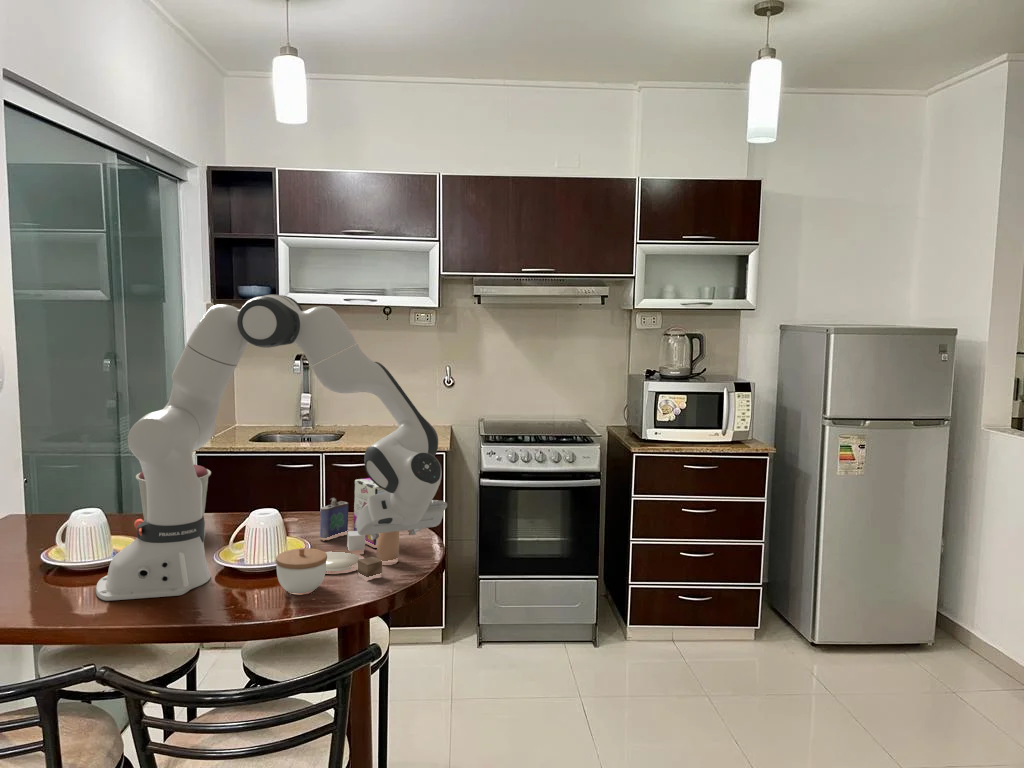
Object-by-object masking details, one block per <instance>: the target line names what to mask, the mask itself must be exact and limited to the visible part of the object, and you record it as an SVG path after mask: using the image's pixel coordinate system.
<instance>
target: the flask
mask: <svg viewBox="0 0 1024 768" xmlns="http://www.w3.org/2000/svg"><path fill="white" fill-rule="evenodd" d="M329 500H330V501H331V502H330V504H328V505H326V506H322V507H320V519H319V520H320V521H319V522H320V524H319V526H320V528H319V538H320V537H321V538H327V537H330V536H332V535H335V534H338V533H341V532H345V531H347V530H348V531H349V528H348V527H349V505H350V504H349V502H347V501H342V500H340V501H337V498H335V497H331V498H330V499H329Z"/></svg>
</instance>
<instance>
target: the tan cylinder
mask: <svg viewBox="0 0 1024 768" xmlns="http://www.w3.org/2000/svg"><path fill="white" fill-rule="evenodd" d="M378 534H379V537H378V539H377V549H376V558H377V559H379V560H382V561H388V560H393V559H396V558H398V557H399V558H400V531H394V532H386V533H378Z"/></svg>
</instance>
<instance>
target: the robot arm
mask: <svg viewBox="0 0 1024 768" xmlns="http://www.w3.org/2000/svg"><path fill="white" fill-rule="evenodd" d="M292 344H293V345H296V346H297V347H299V349H300V350H301V351H302V352H303V354H304V356H305V358H306V359H307V361H308V363H309V365H310V367H311V369H312V370H313V372H314V375H315V376H316V378H317V379H318V381H319V382H320V384H322V386H323V387H324V388H326V389H327V390H330V391H332V392H334V393H338V394H356V393H368V394H372V395H374V396H375V397H377V398H378V399H380V401H381V402H382V403H383V405H384V406H385V408H386V409H387V410H388V412H389V414H391V415H392V417H393V419H394V420H395V421H396V424H397V426H398V427H397V428H396V429H395V430H394V431H392V432H391V433H389V434H387V435H386V436H384V437H382V438H380V439H379V440H377V441H376V442H374V443H372V444H371V445H370V446H368V447H367V448H366V449H365V452H364V457H363V458H364V459H363V461H364V469H365V472H366V473H365V474H367V476H368V478H370V479H371V480H372V481H373V482H374V483H375V484H376V485H377V486H379V487H380V488H382V489H384V490H386V491H385V492H383V493H379V494H376V495H372V496H370V497H368V500H367V501H368V504H367V505H365V506H364V507H363V508H362V509H361V511H360V513H359V514H358V516H357V519H356V528H357V532H358V534H360V535H369V534H370V536H371V540H374V539H378V537H379V534H378V533H386V532H394V531H399V532H401V531H402V532H403V531H407V532H408V535H409V536H415V535H416V534H417V532H419V531H421V530H423V529H427V528H434V527H435V528H436V527H437V526H439V525H440V524H441V523H442V519H443V518H444V517H443V516H444V511H446V509H447V508H448V502H447V501H444V500H437V499H434V497H435V496H436V494H437V491H438V490H439V486H440V485H441V482H442V481H441V480H442V472H443V471H442V465H441V463H440V462H439V460H438V459H437V457H435V456H436V455H437V453H438V448H439V437H438V433H437V431H436V429H435V428H434V426H433V425H432V424H431V423H430V422H429V421H427V419H426V418H425V417H424V416H423V415H422V414H421V413H420V411H419V410H418V409H417V407H416V406H415V405H414V403H413V402H412V401H411V399H410V398H409V396H408V394H406V392H405V391H404V389H402V387H401V385H400V384H399V383H398V382H397V380H396V379H395V377H394V376H393V375H392V374H391V373H390V371H389V370H388V368H386V367H385V366H384V364H382V363H381V362H378V361H374V360H372V359H370V358H369V356H367V354H365V353H364V351H363V350H362V349H361V347H360V346H359V344H358V342H357V340H356V339H355V337H354V335H353V334H352V332H351V331H350V329H349V328H348V326H347V325H346V323H345V321H344V320H343V319H342V317H341V316H340V315H339V314H338V312H336V310H335V309H333V308H331V307H330V306H326V305H325V306H324V305H319V306H313V307H310V308H309V309H307V310H306V309H305V310H303V308H302V306H301V305H300V304H299V303H298V302H297V301H296V300H295V298H294V299H293V298H292V297H290V296H287V295H283V294H274V293H273V294H265V295H262V296H255V297H253V298H251V299H249V300H247V301H246V302H245V303H244V304H243V305H242V307H241V308H238V307H236V306H233V305H229V304H226V303H225V304H224V303H223V304H222V303H221V304H219V303H218V304H215V305H213V306H211V307H209V309H207V311H206V312H205V313H204V314H203V316H202V317H201V318H200V320H199V321H198V323H197V324H196V326H195V328H194V329H193V331H192V333H191V335H190V336H189V339H188V340H187V342H186V345H185V347H184V349H183V351H182V353H181V355H180V357H179V359H178V361H177V363H176V365H175V367H174V369H173V372H172V373H171V380H172V387H171V391H170V395H169V396H170V397H169V399H168V402H167V403H166V404H165V406H164V407H163V409H159V410H155V411H152V412H149V413H147V414H144V416H142V417H141V418H140V419H139V420H138V421H137V422H135V423H134V424H133V425H132V426H131V428H130V430H128V431H129V432H128V435H127V445H128V449H129V450H130V452H131V454H132V455H133V456H134V457H135V458H136V459H137V460H138V461H139V464H140V467H141V470H142V471H143V474H144V478H145V483H146V489H147V520H145V521H144V519H142V518H138V519H136V520H134V528H135V530H136V538H135V539H134V540H133V541H132V542H130V544H128V545H126V546H125V547H123V549H121V550H120V551H118V552H117V553H116V554H115V555H114V556H113V557H112V559H111V561H110V564H109V567H108V572H107V575H105V576H103V577H101V578H100V579H99V580H98V581H97V583H96V587H95V594H96V596H97V597H98V598H99V599H100V600H102V601H106V602H107V601H120V600H121V601H122V600H135V599H137V600H138V599H149V598H160V597H161V598H162V597H164V598H165V597H174V596H175V597H176V596H182V595H185V594H186V593H188V592H189V591H190V590H193V589H195V588H197V587H200V586H202V585H204V584H205V583H207V582H208V581H210V579H211V573H210V570H209V567H208V563H207V559H206V552H205V545H204V544H205V543H204V542H205V537H206V521H205V515H204V516H203V515H202V482H201V480H200V479H199V478H198V477H197V474H196V472H195V468H194V465H195V464H194V462H193V461H194V460H193V453H194V452H196V451H197V450H199V449H201V448H202V447H204V446H205V445H206V444H207V443H208V442H209V441H210V439H211V438H212V437H213V435H214V433H215V430H216V420H217V416H218V412H219V409H220V405H221V401H222V399H223V395H224V393H225V391H226V389H227V387H228V385H229V383H230V381H231V379H232V377H233V374H234V372H235V371H236V368H237V366H238V364H239V362H240V360H241V358H242V356H243V354H244V352H245V350H246V349H247V347H248V346H249V345H253V346H256V347H258V348H263V349H265V348H267V349H268V348H269V349H270V348H275V347H279V346H286V345H292ZM142 471H141V472H142Z"/></svg>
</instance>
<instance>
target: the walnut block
mask: <svg viewBox="0 0 1024 768" xmlns="http://www.w3.org/2000/svg"><path fill="white" fill-rule="evenodd" d="M358 572H359V573H360V574H362V575H364V576H366V577H369V576H373V575H376V574H380V573H382V574H383V566H382V561H381V560H379V559H377V557H375V556H369V557H365V558H364V559H360V560H358V571H357V573H358Z"/></svg>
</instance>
